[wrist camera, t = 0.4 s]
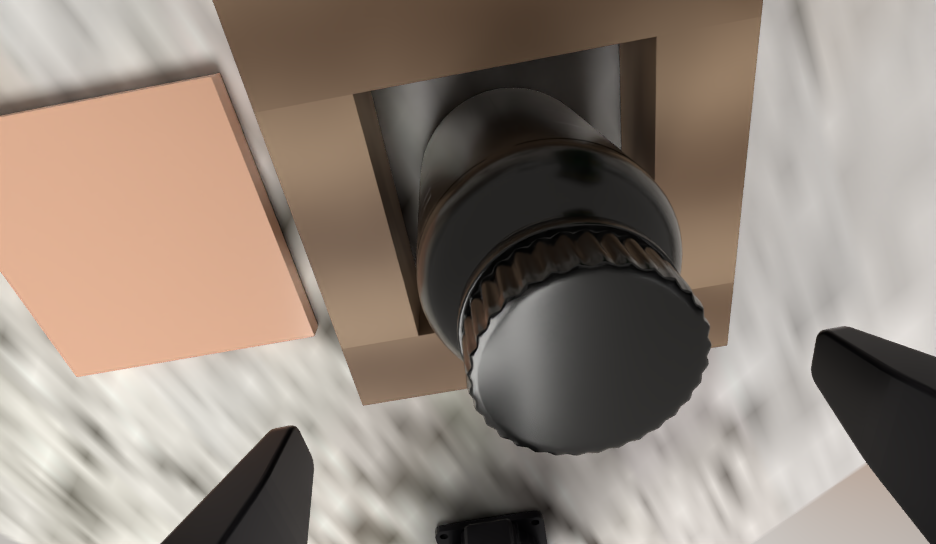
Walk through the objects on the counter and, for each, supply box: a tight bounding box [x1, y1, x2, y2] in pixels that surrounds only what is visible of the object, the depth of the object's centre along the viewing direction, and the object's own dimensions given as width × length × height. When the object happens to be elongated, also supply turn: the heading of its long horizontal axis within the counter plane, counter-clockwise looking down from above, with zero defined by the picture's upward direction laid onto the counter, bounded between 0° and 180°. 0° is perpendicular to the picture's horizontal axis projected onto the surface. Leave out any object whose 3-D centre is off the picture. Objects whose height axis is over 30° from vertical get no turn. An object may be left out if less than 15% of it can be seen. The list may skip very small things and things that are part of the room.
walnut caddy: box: [213, 0, 763, 406], centre depth 19 cm, size 15×15×4 cm
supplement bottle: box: [416, 87, 712, 456], centre depth 15 cm, size 7×7×12 cm
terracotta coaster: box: [0, 73, 318, 377], centre depth 20 cm, size 11×11×1 cm
